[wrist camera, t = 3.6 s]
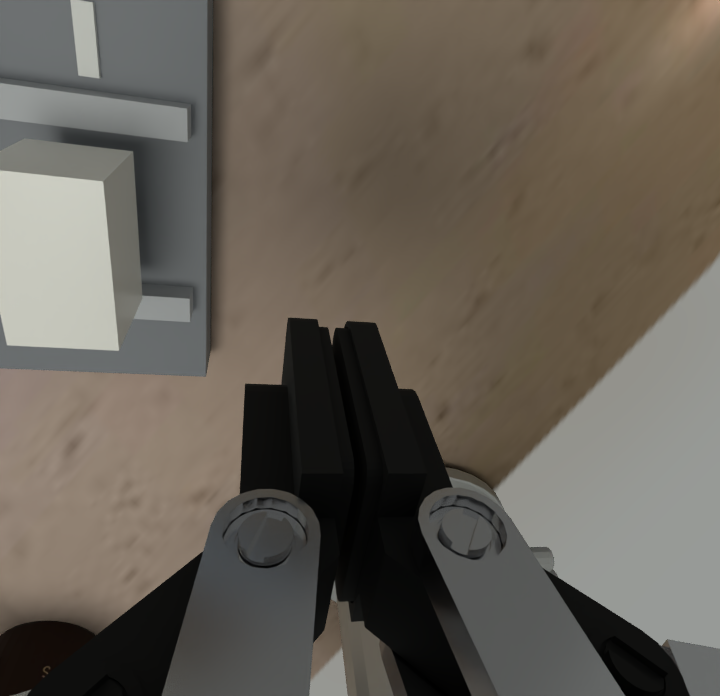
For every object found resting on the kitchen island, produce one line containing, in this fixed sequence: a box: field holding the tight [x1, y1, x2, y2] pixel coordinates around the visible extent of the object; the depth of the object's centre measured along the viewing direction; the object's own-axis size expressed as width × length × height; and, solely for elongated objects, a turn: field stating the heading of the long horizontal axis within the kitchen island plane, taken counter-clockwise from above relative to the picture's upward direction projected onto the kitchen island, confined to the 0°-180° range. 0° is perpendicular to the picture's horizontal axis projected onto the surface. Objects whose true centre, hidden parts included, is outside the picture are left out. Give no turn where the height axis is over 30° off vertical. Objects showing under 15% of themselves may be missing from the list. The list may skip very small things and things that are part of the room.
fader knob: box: [0, 138, 142, 351], centre depth 16 cm, size 3×5×5 cm, turn 171°
